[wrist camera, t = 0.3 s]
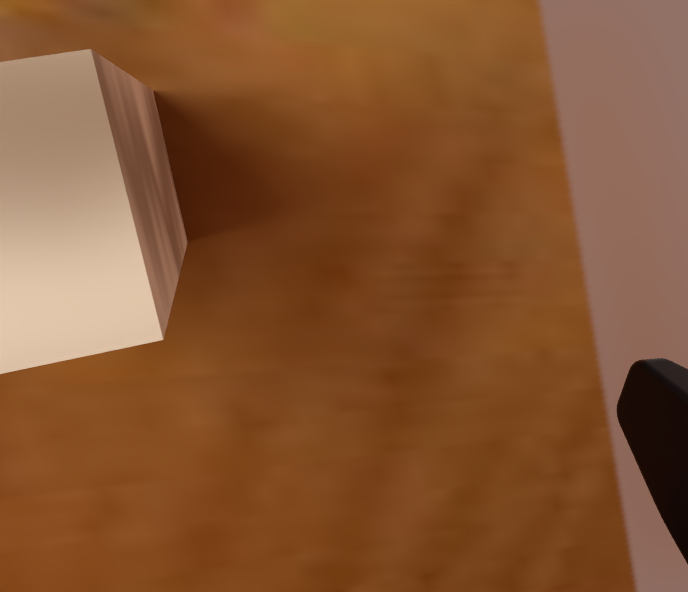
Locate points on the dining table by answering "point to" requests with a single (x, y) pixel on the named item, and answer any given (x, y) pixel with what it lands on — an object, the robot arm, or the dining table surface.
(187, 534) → the dining table surface
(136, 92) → the birch block
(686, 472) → the robot arm
